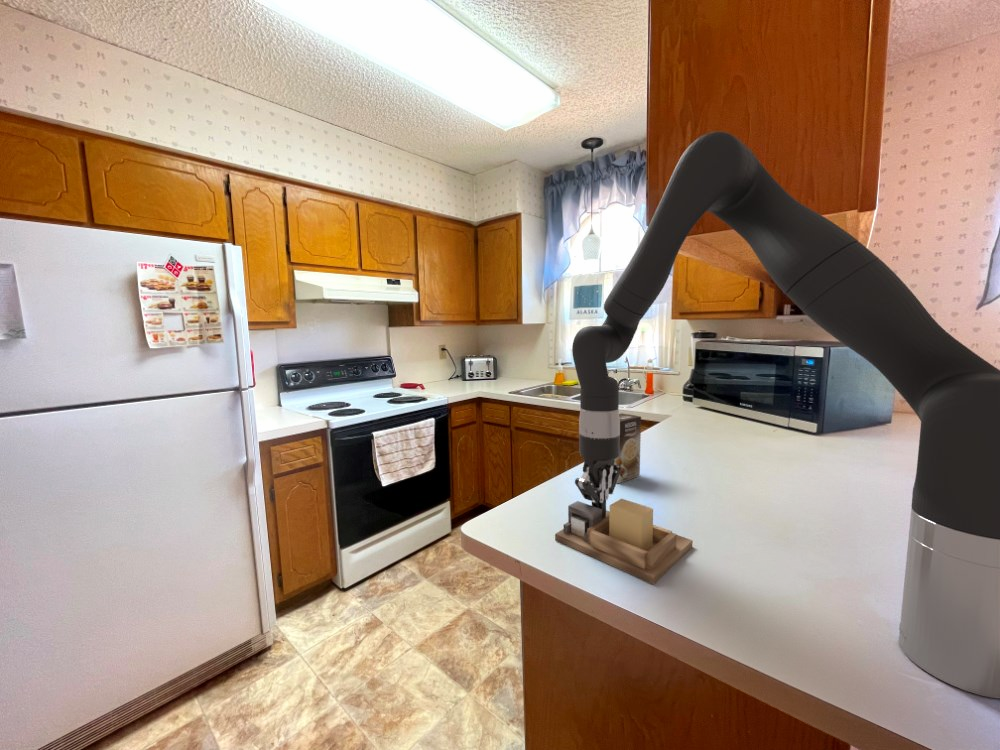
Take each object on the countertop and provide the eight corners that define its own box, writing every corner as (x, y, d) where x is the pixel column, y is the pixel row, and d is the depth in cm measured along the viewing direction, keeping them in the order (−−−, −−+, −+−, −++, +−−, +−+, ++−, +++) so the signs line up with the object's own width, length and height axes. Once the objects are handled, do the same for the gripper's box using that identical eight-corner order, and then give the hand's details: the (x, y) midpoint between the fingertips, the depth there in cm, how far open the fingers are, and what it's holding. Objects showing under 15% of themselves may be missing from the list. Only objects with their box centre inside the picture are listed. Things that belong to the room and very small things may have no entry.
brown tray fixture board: (692, 546, 72) (693, 515, 71) (653, 584, 62) (654, 547, 61) (599, 513, 86) (599, 486, 85) (555, 539, 76) (554, 509, 75)
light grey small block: (599, 528, 77) (599, 513, 76) (584, 538, 73) (584, 522, 73) (586, 523, 79) (586, 508, 79) (571, 532, 75) (570, 517, 75)
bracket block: (652, 547, 70) (653, 508, 69) (641, 556, 67) (641, 516, 66) (621, 535, 74) (621, 498, 74) (609, 543, 72) (609, 505, 71)
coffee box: (618, 484, 101) (619, 421, 100) (598, 477, 106) (598, 417, 105) (640, 476, 107) (641, 416, 105) (620, 469, 112) (621, 412, 110)
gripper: (596, 442, 70) (596, 537, 72) (634, 428, 79) (633, 513, 81) (561, 434, 75) (562, 523, 77) (601, 422, 84) (601, 502, 86)
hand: (599, 518), depth 79 cm, fingers closed
